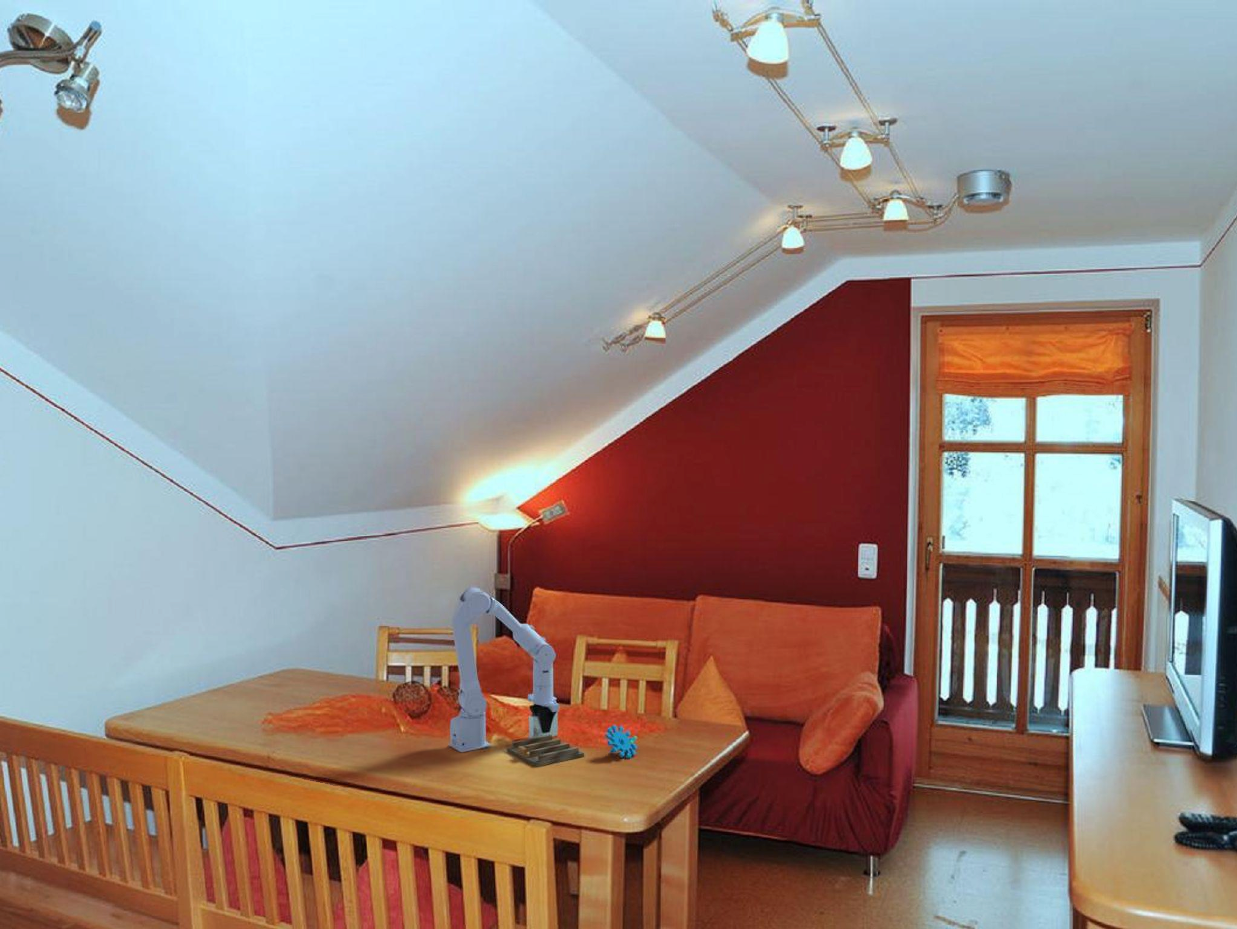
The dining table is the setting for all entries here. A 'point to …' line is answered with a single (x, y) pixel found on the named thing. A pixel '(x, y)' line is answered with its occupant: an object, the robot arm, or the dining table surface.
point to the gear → (621, 741)
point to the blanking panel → (536, 728)
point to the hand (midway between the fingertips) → (543, 731)
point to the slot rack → (544, 750)
